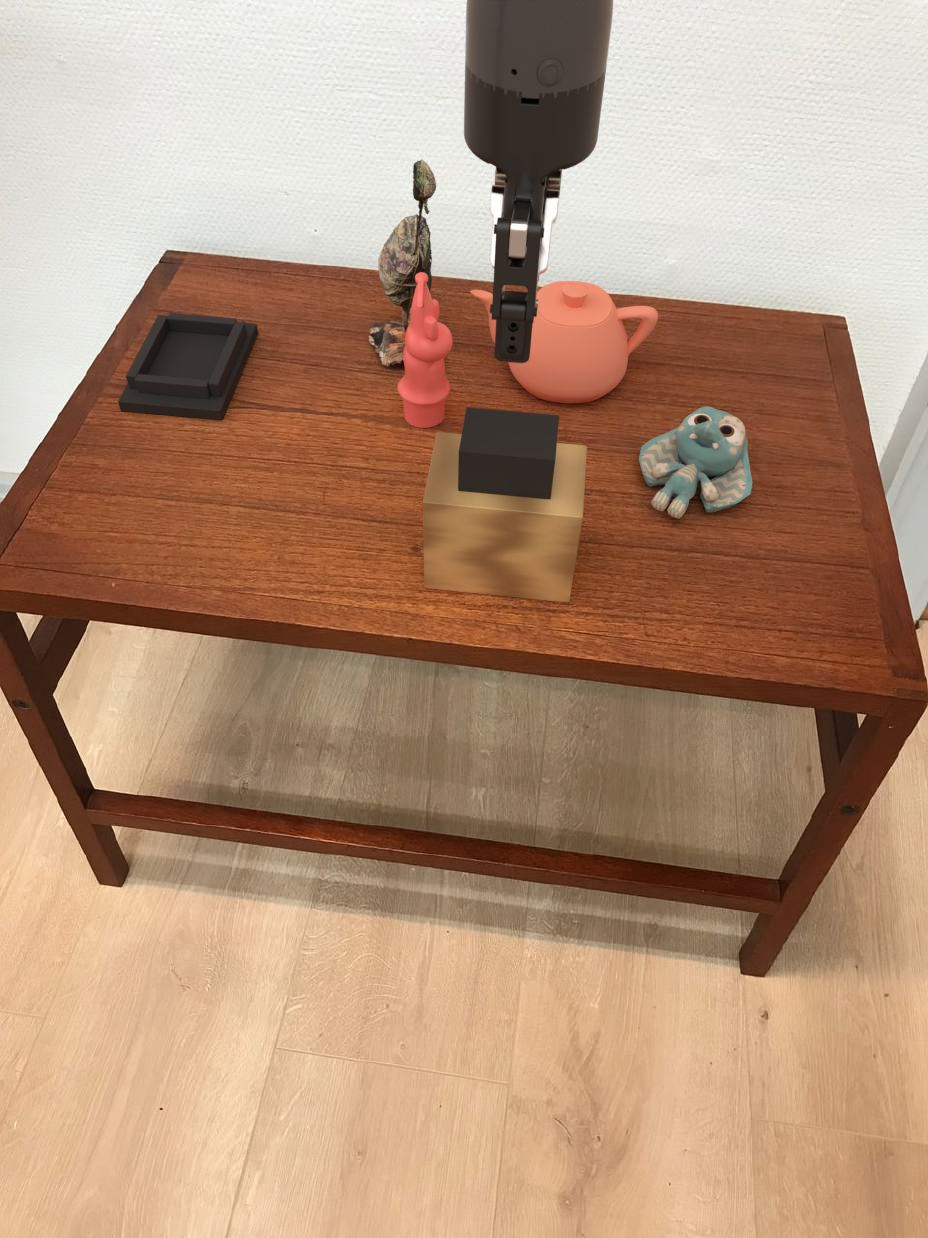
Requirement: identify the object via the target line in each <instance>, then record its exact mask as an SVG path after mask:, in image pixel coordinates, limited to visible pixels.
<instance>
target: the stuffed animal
mask: <svg viewBox="0 0 928 1238" xmlns="http://www.w3.org/2000/svg"><path fill="white" fill-rule="evenodd" d="M746 434H747V432H746V427H745V425H744V422H743V421H742V420H741V419H739V418H738V417H736V416H734V415H733V414H731V413H729V412H727V411H724V410H721V409H718V408H715V407H712V406H702V407H698V408H697V409H696V410H694V411H693V412H692V413H690V414H687V416H686V417H684V419H683V420H682V422H681V423H680V424H679V426H678V427H675V428H673V429H671V430H669V431H667V432H665V433H663V434H661V435H658V436H655V437H653V438H651V439H649V440H648V441H646V442H645V443H644V444H643V445H641V447H640V452H639V455H638V462H639V466H640V469H641V473H642V476H643V480H644V481H645V483H646V485H647V486H648V487H651V488H652V487H655V486H663V487H662V488H661V489H659V490H658V491H657V492H656V494H655V495H654V496H653V498H652V500H651V501H650V503H651V507H652V508H653V509H654V510H656V511H659V512H662V513H663V512H664V511H665V510H666V508H667V507H668V508H667V510H666V511H667V515H669V516H670V517H672V518H674V519H678V520H680V519H681V518H682V517H683V516H684V514H685V512H686V511H687V510H688V508H689V504H690V503H689V502H690V500H691V499H693V497H694V496H695V495H696V493H697V488H698V483H699V482H700V490H701V491H700V493H699V497H700V499H701V501H702V504H703V507H704V511H705V512H706V513H716V512H719V511H722V510H726V509H729V508H732V507H733V506H735V505H736V504H738V503H740V502H741V501H743V500H745V499H746V498H747V497H749V496H750V495H751V494H752V490H753V489H752V488H753V478H752V477H753V476H752V472H751V467H750V466H751V465H750V458H749V452H748V446H749V445H748V442H749V441H748V438H747V435H746ZM711 477H713V478H711ZM709 478H711V479H709ZM672 497H674V498H673V500H672V502H671V499H672ZM670 502H671V503H670ZM669 503H670V504H669Z"/></svg>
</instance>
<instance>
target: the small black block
mask: <svg viewBox="0 0 928 1238" xmlns="http://www.w3.org/2000/svg"><path fill="white" fill-rule="evenodd" d="M559 424H560V415H559V414H549V413H537V412H536V413H535V412H526V411H517V410H516V411H515V410H504V409H503V410H502V409H495V408H493V409H491V408H481V407H470V406H467V407H466V408H465V414H464V420H463V424H462V430H461V434H462V435H461V441H460V447H459V462H458V491H465V492H476V493H486V494H497V495H507V496H518V497H528V498H539V499H551V492H552V484H553V476H554V467H555V459H556V447H557V443H558V434H559Z"/></svg>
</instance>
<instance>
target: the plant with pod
mask: <svg viewBox="0 0 928 1238" xmlns="http://www.w3.org/2000/svg"><path fill="white" fill-rule="evenodd" d="M412 174H413V175H412V179H413V181H412V184H413V185H412V196H413V200H415V201H416V202H418V206H417V207H418V209H419V211H418V214H414V215H409V216H408V215H407V216H405V217H404V218H403V219H401V221H400V222H399V223H398V224H397V225H396V226H395V227H394V229H392V232H391V233H390V235H389V237H388V238H387V239H386V241H385V242H384V244H383V246H382V248H381V251H380V253H379V257H378V259H377V262H378V265H377V266H378V268H377V269H378V277H379V280H380V283H381V286H382V289H383V290H384V295H385V296H386V297H387V298H388V300H390V302H391V303H392V305H396V306H399V307H401V308H402V311H401V319H402V321H399V320H397V319H391V320H388V321H386V322H384V321H382V322H380V321H379V322H376V323H371V324H370V327H369V335H368V342H369V344H371V345H372V347H375V349H374V352H375V353H378V354H379V355H378V357H380V361H381V365H383V366H386V367H390V364H391V365H392V366H395V365H396V364H397V363H398V364H402V361H404V359H403V352H404V347H405V335H406V331H407V328H408V326H409V324H410V321H411V306H412V301H413V297H414V293H415V289H416V286H417V283H416V281H415V276H416V274H417V273H420V272H423V273H426V274H427V275H428V282H427V283H426V284H427V286H428V289H429V292H430V293H431V289H432V282H433V279H432V276H433V275H432V263H433V262H432V261H433V257H432V243H431V231H430V226H429V224H427V218H426V217H425V216H423V209H424V212H425V214H426V215H429V214H430V212H431V211H430V210H429V207H428V205H429V204H428V201H429V199H431V198H432V197H433V196H434V194H435V192H436V190H437V181H436V177H435V174H434V173H433V170H432V169H431V167H430V165H429V164H428V163H427V162H426V161H425V160H424V159H420V160H417V161H416V162H414V163H413V167H412Z"/></svg>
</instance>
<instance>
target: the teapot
mask: <svg viewBox="0 0 928 1238" xmlns="http://www.w3.org/2000/svg"><path fill="white" fill-rule="evenodd" d="M470 294H471V295H472V296H473V297H475V298H476V299H478V300H479V301H481V302H482V303H483V305H484V307H485V309H486V311H487V316H488V325H489V326H488V327H489V332H490V337H491V341H492V342H493V344H494V345H495V334H496V320H492V313H490V304H492V301H493V293H491V292H489V291H486V290H483V289H477V288H476V289H471V290H470ZM536 299H539V301H538V308H537V317H534V321H533V325H532V336H531V348H530V357H529V360H528V361H527V362H525V363H514V362H507V363H508V366H509V369H510V372H511V374H512V375H513V377H514V378H515V379H516V381H517V382H518V383H519V384H520V385H521V387H522V388H523V389H525V391H527V392H528V393H529V394H530V395H532V396H534V397H536V398H538V399H541V400H542V401H547V402H552V403H558V404H559V403H560V404H583V403H584V404H585V403H590V402H593V401H596V400H599V399H601V398H602V397H604V396H605V395H607V394H609V393H610V392H612V391H613V390H614V389H615V388H616V387H617V386H618V385H619V384H620V383H621V381H622V380H623V378H624V377H625V375H626V373H627V369H628V363H629V356H630V354H631V353H632V352H634V351H635V350H636V349H637V347H639V346H640V345H641V344H642V343H643V342H645V340H646V339H647V338H648V337H649V336H650V334H651V333H652V332H653V330H654V329H655V327H656V326H657V323H658V319H659V313H658V311H657V309H656V308H655V307H652V306H648V305H632V306H625V307H616V305H615V303H614V301H613V299H612V297H611V296H610V295H609V294H608V292H607V290H605V289H604V288H602V287H601V286H599V285H596V284H594V283H591V282H588V281H587V282H586V281H580V280H579V281H578V280H560V281H554V282H550V283H548V284H546V285H544V286H542V287H541V288H540V289H538V290H537V297H536ZM630 319H631V320H632V319H637V320H638V319H639V320H640V323H639V325H638V327H637V329H636V331H635V332H634V333H633V335H632V336H631V337H630V339H629V340H628V336H627V332H626V327H625V326H624V323H623V320H630Z"/></svg>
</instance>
